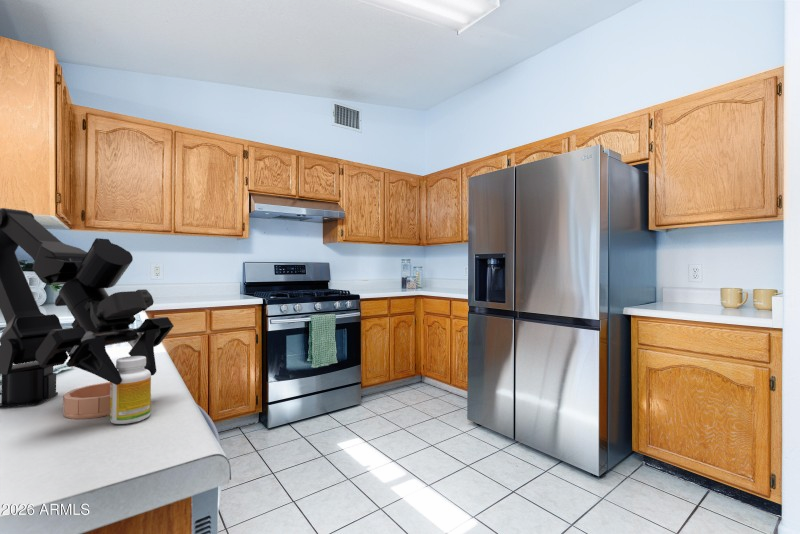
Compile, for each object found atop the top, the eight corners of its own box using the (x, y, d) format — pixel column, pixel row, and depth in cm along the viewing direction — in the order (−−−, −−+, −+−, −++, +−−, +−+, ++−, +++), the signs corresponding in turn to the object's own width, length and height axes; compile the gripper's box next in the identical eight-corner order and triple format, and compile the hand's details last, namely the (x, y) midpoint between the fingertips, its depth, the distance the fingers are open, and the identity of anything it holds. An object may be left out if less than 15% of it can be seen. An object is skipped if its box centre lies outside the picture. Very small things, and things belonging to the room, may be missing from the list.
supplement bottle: (158, 414, 64) (159, 356, 64) (126, 426, 59) (126, 363, 59) (135, 410, 66) (135, 353, 66) (101, 422, 61) (102, 360, 61)
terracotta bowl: (49, 422, 61) (49, 402, 61) (82, 401, 72) (83, 384, 72) (126, 414, 64) (126, 395, 64) (148, 395, 75) (148, 379, 75)
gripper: (48, 274, 55) (100, 357, 51) (166, 273, 73) (211, 335, 69) (14, 326, 58) (61, 409, 54) (136, 314, 75) (178, 375, 71)
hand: (137, 378), depth 62 cm, fingers closed on supplement bottle, 5 cm apart
